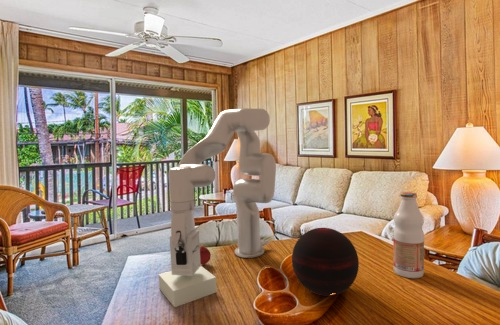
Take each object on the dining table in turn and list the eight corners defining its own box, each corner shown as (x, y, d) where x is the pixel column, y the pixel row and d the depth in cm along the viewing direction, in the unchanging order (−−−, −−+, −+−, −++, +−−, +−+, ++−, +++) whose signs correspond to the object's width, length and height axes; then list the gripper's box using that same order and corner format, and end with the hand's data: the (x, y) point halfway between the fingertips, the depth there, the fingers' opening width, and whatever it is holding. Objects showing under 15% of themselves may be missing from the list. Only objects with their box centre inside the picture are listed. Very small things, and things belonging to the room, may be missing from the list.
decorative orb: (292, 308, 87) (290, 239, 85) (292, 276, 106) (291, 220, 105) (366, 311, 84) (365, 240, 82) (351, 277, 104) (351, 220, 102)
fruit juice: (402, 279, 101) (402, 196, 98) (388, 267, 110) (388, 191, 108) (430, 278, 101) (430, 195, 99) (413, 266, 110) (414, 190, 108)
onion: (213, 262, 121) (212, 243, 120) (206, 268, 115) (205, 248, 115) (200, 261, 123) (199, 241, 122) (193, 267, 117) (192, 247, 116)
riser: (198, 276, 109) (197, 263, 108) (216, 292, 97) (215, 277, 97) (159, 288, 101) (158, 274, 101) (174, 307, 90) (173, 291, 89)
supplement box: (193, 276, 94) (190, 236, 93) (171, 275, 96) (168, 236, 95) (201, 266, 102) (199, 229, 101) (180, 265, 103) (178, 229, 102)
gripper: (180, 199, 106) (183, 249, 108) (160, 212, 89) (164, 270, 90) (201, 199, 105) (204, 249, 107) (185, 212, 88) (188, 271, 89)
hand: (186, 258), depth 98 cm, fingers closed on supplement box, 7 cm apart
